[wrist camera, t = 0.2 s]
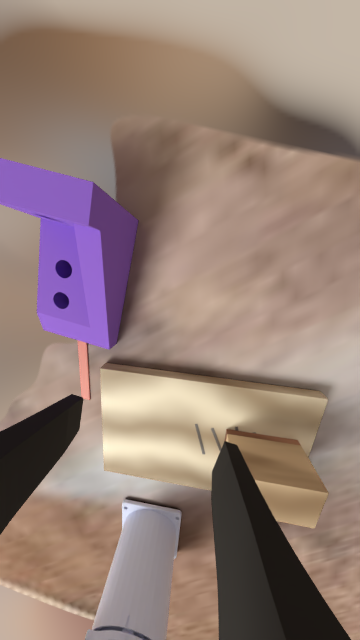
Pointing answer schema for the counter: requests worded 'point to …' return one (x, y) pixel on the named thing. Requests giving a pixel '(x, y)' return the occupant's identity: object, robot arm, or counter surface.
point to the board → (193, 420)
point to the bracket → (75, 250)
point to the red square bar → (84, 369)
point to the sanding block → (282, 476)
